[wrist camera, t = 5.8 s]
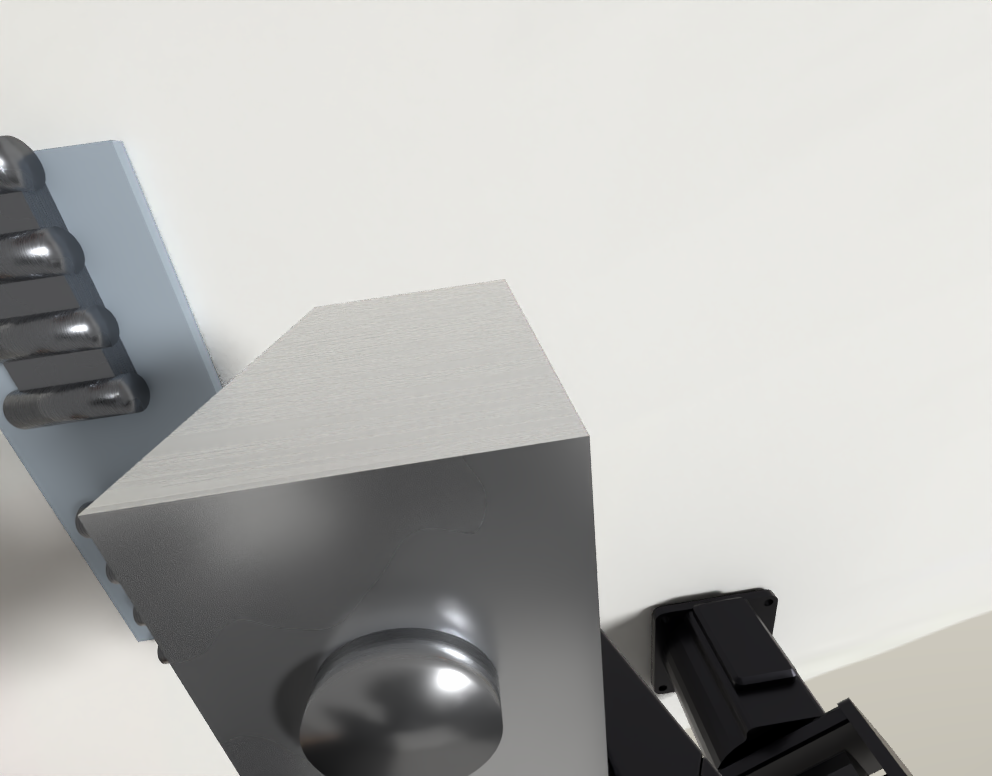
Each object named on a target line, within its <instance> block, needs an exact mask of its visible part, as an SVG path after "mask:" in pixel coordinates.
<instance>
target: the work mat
mask: <svg viewBox="0 0 992 776" xmlns="http://www.w3.org/2000/svg"><path fill="white" fill-rule="evenodd" d="M33 152H34V153H35V154H36V155H37V157H38V158H39V160H40V162H41V164H42V166H43V168H44V171H45V176H46V181H45V183H46V185H47V187H48V189H49V191H50V194H51V196H52V198H53V200H54V202H55V204H56V206H57V208H58V210H59V212H60V214H61V216H62V218H63V220H64V223H65V225H66V227H67V229H68V231H69V232H70V233H71V234H72V235H73V236H74V237H75V238H76V239H77V241H78V242H79V244H80V245H81V247H82V249H83V252H84V256H85V266H86V268H87V270H88V272H89V274H90V276H91V278H92V281H93V283H94V285H95V287H96V289H97V291H98V293H99V295H100V297H101V299H102V301H103V303H104V305H105V307H106V308H107V309H108V310H109V311H110V312H111V313H112V314H113V315H114V317H115V318H116V320H117V323H118V326H119V332H120V334H119V336H120V339H121V341H122V343H123V345H124V347H125V349H126V351H127V353H128V355H129V357H130V359H131V361H132V363H133V365H134V368H135V370H136V372H137V374H138V375H140V376H141V377H142V378H143V379H144V380H145V382H146V383H147V385H148V388H149V391H150V401H149V405H148V407H147V408H146V409H145V410H144V411H142V412H139V413H133V414H126V415H120V416H113V417H107V418H100V419H93V420H87V421H80V422H73V423H67V424H60V425H54V426H47V427H40V428H34V429H26V430H24V429H19V428H16V427H14V426H13V425H11V424H10V423H9V422H8V421H7V419H6V418H5V416H4V413H3V402H4V399H5V397H6V396H7V395H8V394H9V393H10V392H12V391H14V390H18V388H17V386H16V385H15V383H14V381H13V380H12V378H11V376H10V375H9V373H8V371H7V370H6V368H5V367H4V365H3V363H0V429H1V431H2V432H3V434H4V435H5V437H6V438H7V440H8V442H9V443H10V445H11V446H12V448H13V449H14V451H15V452H16V454H17V455H18V457H19V458H20V460H21V462H22V463H23V465H24V466H25V468H26V469H27V471H28V472H29V474H30V475H31V477H32V479H33V480H34V482H35V483H36V485H37V486H38V488H39V489H40V491H41V492H42V494H43V496H44V497H45V499H46V500H47V502H48V503H49V505H50V506H51V508H52V509H53V511H54V513H55V514H56V516H57V517H58V519H59V520H60V522H61V523H62V525H63V526H64V528H65V530H66V531H67V533H68V534H69V536H70V537H71V539H72V540H73V542H74V543H75V545H76V546H77V548H78V550H79V551H80V553H81V554H82V556H83V557H84V559H85V560H86V562H87V563H88V565H89V567H90V568H91V570H92V571H93V573H94V574H95V576H96V577H97V579H98V580H99V582H100V584H101V585H102V587H103V588H104V590H105V591H106V593H107V594H108V596H109V597H110V599H111V601H112V602H113V604H114V605H115V607H116V608H117V610H118V611H119V613H120V614H121V616H122V617H123V619H124V621H125V622H126V624H127V625H128V627H129V628H130V630H131V631H132V633H133V634H134V636H135V638H136V639H137V641H138V642H139V641H146V640H152V639H154V638H153V636H152V634H151V633H150V631H149V630H148V628H147V626H139V625H138V624H136V622H135V621H134V618H133V607H134V606H133V604H132V602H131V601H130V599H129V598H128V596H127V594H126V593H125V591H124V590H123V588H122V586H121V585H120V584H113V583H111V582H110V581H109V580H108V578H107V576H106V563H107V562H106V561H105V559H104V558H103V556H102V554H101V553H100V551H99V550H98V548H97V546H96V545H95V543H94V542H93V540H92V538H85V537H83V536H81V535H80V534H79V533H78V531H77V529H76V525H75V518H76V514H77V512H78V510H79V508H80V507H81V506H82V505H83V504H84V503H86V502H89V501H95V500H96V499H97V498H98V497H99V496H101V495H102V494H103V493H104V492H105V491H106V490H107V489H109V488H110V487H111V486H112V485H113V484H114V483H115V482H116V481H118V480H119V479H120V478H121V477H122V476H123V475H124V474H126V473H127V472H128V471H129V470H130V469H131V468H132V467H134V466H135V465H136V464H137V463H138V462H139V461H140V460H142V459H143V458H144V457H145V456H146V455H147V454H148V453H149V452H151V451H152V450H153V449H154V448H155V447H156V446H157V445H159V444H160V443H161V442H162V441H163V440H164V439H165V438H167V437H168V436H169V435H170V434H171V433H172V432H173V431H175V430H176V429H177V428H178V427H179V426H180V425H181V424H182V423H184V422H185V421H186V420H187V419H188V418H189V417H190V416H192V415H193V414H194V413H195V412H196V411H197V410H198V409H200V408H201V407H202V406H203V405H204V404H205V403H206V402H208V401H209V400H210V399H211V398H212V397H213V396H214V395H216V394H217V393H218V392H219V391H220V390H221V389H222V388H223V387H222V385H221V383H220V380H219V378H218V375H217V373H216V370H215V368H214V365H213V363H212V360H211V358H210V355H209V353H208V351H207V348H206V346H205V343H204V341H203V338H202V336H201V333H200V331H199V328H198V326H197V324H196V321H195V319H194V316H193V314H192V311H191V309H190V306H189V304H188V301H187V299H186V296H185V294H184V292H183V289H182V287H181V284H180V282H179V279H178V277H177V274H176V272H175V269H174V267H173V265H172V262H171V260H170V257H169V255H168V252H167V250H166V247H165V245H164V242H163V240H162V237H161V235H160V233H159V230H158V228H157V225H156V223H155V220H154V218H153V215H152V213H151V210H150V208H149V206H148V203H147V201H146V198H145V196H144V193H143V191H142V188H141V186H140V183H139V181H138V178H137V176H136V174H135V171H134V169H133V166H132V164H131V161H130V159H129V156H128V154H127V151H126V149H125V147H124V144H123V142H122V141H114V140H109V141H102V142H95V143H87V144H80V145H73V146H66V147H58V148H51V149H44V150H37V151H33Z"/></svg>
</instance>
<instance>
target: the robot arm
mask: <svg viewBox="0 0 992 776" xmlns="http://www.w3.org/2000/svg"><path fill="white" fill-rule="evenodd" d="M777 603H778V599H777V597H776V596H775V595H774V593H773V592H772V591H771V590H759V591H753V592H747V593H741V594H735V595H729V596H723V597H717V598H711V599H705V600H699V601H692V602H686V603H680V604H674V605H668V606H662V607H659V608H657V609H655V610H654V612H653V614H652V677H651V683H652V686H653V688H654V691H655V692H656V693H658V694H664V693H670V692H676V694H677V697H678V699H679V701H680V703H681V706H682V708H683V710H684V713H685V715H686V717H687V719H688V722H689V724H690V726H691V729H692V731H693V733H694V736H695V738H696V740H697V742H698V745H699V747H700V749H701V750H700V749H699V748H698V746H697V745H696V744H695V743H694V742H693V740H692V739H691V738H690V737H689V735H688V734H687V733H686V732H685V731H684V729H683V728H682V727H681V726H680V725H679V723H678V722H677V721H676V720H675V718H674V717H673V716H672V715H671V714H670V712H669V711H668V710H667V709H666V708H665V706H664V705H663V704H662V703H661V701H660V700H659V699H658V698H657V697H656V695H655V694H654V693H653V692H652V690H651V689H650V688H649V687H648V686H647V684H646V683H645V682H644V681H643V680H642V678H641V677H640V676H639V675H638V673H637V672H636V671H635V670H634V669H633V667H632V666H631V665H630V664H629V663H628V661H627V660H626V659H625V658H624V656H623V655H622V654H621V653H620V652H619V650H618V649H617V648H616V647H615V646H614V644H613V643H612V642H611V641H610V639H609V638H608V637H607V636H606V635H605V633H604V632H603V631H602V630H601V629H600V636H601V654H602V672H603V690H604V708H605V726H606V744H607V762H608V776H869V775H870V774H872V773H875V772H877V771H878V770H881V769H884V771H885V772H886V773H887V774H886V775H884V776H913V775H912V774H911V773H910V771H909V770H908V769H907V767H906V766H905V765H904V764H903V762H902V761H901V760H900V759H899V757H898V756H897V755H896V754H895V752H894V751H893V750H892V748H891V747H890V746H889V745H888V743H887V742H886V741H885V740H884V738H883V737H882V736H881V735H880V734H879V733H878V732H877V730H876V729H875V728H874V727H873V726H872V725H871V723H870V722H869V721H868V720H867V719H866V717H865V716H864V715H863V714H862V713H861V712H860V711H859V709H858V708H857V707H856V706H855V705H854V703H853V702H852V701H851V700H850V699H849V698H847V699H845V700H843V701H841V702H839V703H838V707H836V708H834V709H832V710H831V711H828V712H827V713H825V711H824V710H823V708H822V707H821V706H820V704H819V703H818V701H817V700H816V699H815V697H814V696H813V694H812V693H811V691H810V690H809V689H808V687H807V686H806V685H805V683H804V681H803V680H802V679H801V677H800V676H799V674H798V673H797V671H796V669H795V667H794V666H793V664H792V663H791V662H790V660H789V659H788V657H787V656H786V654H785V653H784V652H783V650H782V649H781V647H780V646H779V645H778V643H777V642H776V640H775V639H774V637H773V636H772V634H773V628H774V622H775V616H776V609H777ZM702 756H704V757H703V758H702Z"/></svg>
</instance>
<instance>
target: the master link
mask: <svg viewBox="0 0 992 776" xmlns="http://www.w3.org/2000/svg"><path fill="white" fill-rule="evenodd" d="M78 518H79V519H80V521H81V522H82V524H83V526H84V527H85V529H86V530H87V532H88V534H89V535H90V537H91V538H92V540H93V542H94V543H95V545H96V546H97V548H98V550H99V551H100V553H101V554H102V556H103V558H104V559H105V561H106V562H107V564H108V566H109V567H110V569H111V570H112V572H113V574H114V575H115V577H116V578H117V580H118V582H119V583H120V585H121V586H122V588H123V590H124V591H125V593H126V594H127V596H128V598H129V599H130V601H131V602H132V604H133V606H134V607H135V609H136V610H137V612H138V614H139V615H140V617H141V618H142V620H143V622H144V623H145V625H146V626H147V628H148V630H149V631H150V633H151V634H152V636H153V638H154V639H155V641H156V642H157V644H158V645H159V647H160V649H161V650H162V652H163V653H164V655H165V657H166V658H167V660H168V661H169V663H170V665H171V666H172V668H173V669H174V671H175V673H176V674H177V676H178V677H179V679H180V681H181V682H182V684H183V685H184V687H185V689H186V690H187V692H188V693H189V695H190V697H191V698H192V700H193V701H194V703H195V705H196V706H197V708H198V709H199V711H200V713H201V714H202V716H203V717H204V719H205V721H206V722H207V724H208V725H209V727H210V729H211V730H212V732H213V733H214V735H215V737H216V738H217V740H218V741H219V743H220V745H221V746H222V748H223V749H224V751H225V753H226V754H227V756H228V757H229V759H230V761H231V762H232V764H233V765H234V767H235V769H236V770H237V772H238V773H239V775H240V776H608V762H607V744H606V726H605V708H604V690H603V672H602V654H601V636H600V617H599V599H598V581H597V563H596V545H595V527H594V509H593V491H592V473H591V455H590V437H589V434H588V432H587V430H586V428H585V426H584V425H583V423H582V421H581V419H580V417H579V415H578V414H577V412H576V410H575V408H574V406H573V404H572V402H571V401H570V399H569V397H568V395H567V393H566V391H565V389H564V388H563V386H562V384H561V382H560V380H559V378H558V376H557V375H556V373H555V371H554V369H553V367H552V365H551V364H550V362H549V360H548V358H547V356H546V354H545V352H544V351H543V349H542V347H541V345H540V343H539V341H538V339H537V338H536V336H535V334H534V332H533V330H532V328H531V326H530V325H529V323H528V321H527V319H526V317H525V315H524V313H523V312H522V310H521V308H520V306H519V304H518V302H517V301H516V299H515V297H514V295H513V293H512V291H511V289H510V288H509V286H508V284H507V282H506V280H505V279H502V280H495V281H489V282H482V283H475V284H468V285H462V286H455V287H448V288H441V289H435V290H428V291H421V292H414V293H408V294H401V295H394V296H387V297H381V298H374V299H367V300H360V301H354V302H347V303H340V304H333V305H327V306H320V307H315V308H313V309H312V310H311V311H310V312H309V313H308V314H307V315H305V316H304V317H303V318H302V319H301V320H300V321H299V322H297V323H296V324H295V325H294V326H293V327H292V328H291V329H289V330H288V331H287V332H286V333H285V334H284V335H283V336H282V337H280V338H279V339H278V340H277V341H276V342H275V343H274V344H272V345H271V346H270V347H269V348H268V349H267V350H266V351H264V352H263V353H262V354H261V355H260V356H259V357H258V358H256V359H255V360H254V361H253V362H252V363H251V364H250V365H249V366H247V367H246V368H245V369H244V370H243V371H242V372H241V373H239V374H238V375H237V376H236V377H235V378H234V379H233V380H231V381H230V382H229V383H228V384H227V385H226V386H225V387H223V388H222V389H221V390H220V391H219V392H218V393H217V394H216V395H214V396H213V397H212V398H211V399H210V400H209V401H208V402H206V403H205V404H204V405H203V406H202V407H201V408H200V409H198V410H197V411H196V412H195V413H194V414H193V415H192V416H190V417H189V418H188V419H187V420H186V421H185V422H184V423H182V424H181V425H180V426H179V427H178V428H177V429H176V430H175V431H173V432H172V433H171V434H170V435H169V436H168V437H167V438H165V439H164V440H163V441H162V442H161V443H160V444H159V445H157V446H156V447H155V448H154V449H153V450H152V451H151V452H149V453H148V454H147V455H146V456H145V457H144V458H143V459H142V460H140V461H139V462H138V463H137V464H136V465H135V466H134V467H132V468H131V469H130V470H129V471H128V472H127V473H126V474H124V475H123V476H122V477H121V478H120V479H119V480H118V481H116V482H115V483H114V484H113V485H112V486H111V487H110V488H109V489H107V490H106V491H105V492H104V493H103V494H102V495H101V496H99V497H98V498H97V499H96V500H95V501H94V502H93V503H91V504H90V505H89V506H88V507H87V508H86V509H85V510H83V511H82V512H81V513H80V514H79V515H78Z"/></svg>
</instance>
